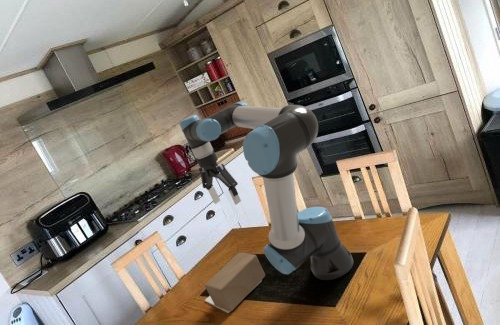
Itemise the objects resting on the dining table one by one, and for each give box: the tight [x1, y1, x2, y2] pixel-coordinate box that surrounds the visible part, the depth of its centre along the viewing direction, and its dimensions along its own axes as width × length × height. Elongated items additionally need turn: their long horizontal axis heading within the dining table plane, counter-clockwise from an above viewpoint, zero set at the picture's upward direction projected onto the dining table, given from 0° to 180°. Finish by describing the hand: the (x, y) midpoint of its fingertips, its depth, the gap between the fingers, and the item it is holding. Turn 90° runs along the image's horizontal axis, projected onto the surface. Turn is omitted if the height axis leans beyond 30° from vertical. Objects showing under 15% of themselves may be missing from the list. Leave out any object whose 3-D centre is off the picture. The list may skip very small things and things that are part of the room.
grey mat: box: [204, 279, 263, 314], centre depth 144 cm, size 16×18×1 cm
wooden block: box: [204, 252, 266, 312], centre depth 140 cm, size 10×10×20 cm
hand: (227, 202), depth 147 cm, fingers open, 13 cm apart
